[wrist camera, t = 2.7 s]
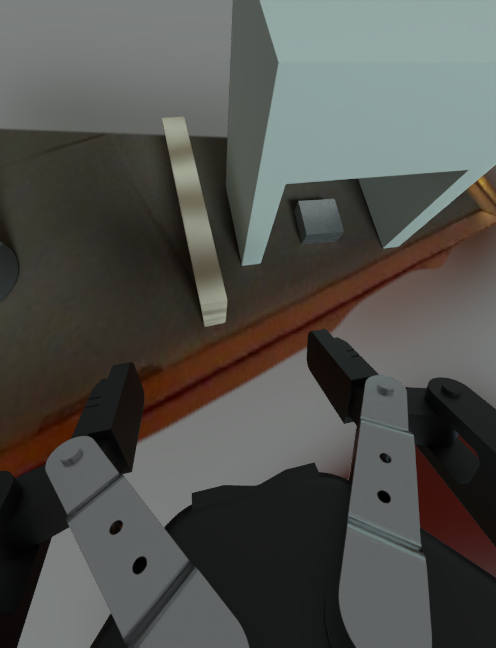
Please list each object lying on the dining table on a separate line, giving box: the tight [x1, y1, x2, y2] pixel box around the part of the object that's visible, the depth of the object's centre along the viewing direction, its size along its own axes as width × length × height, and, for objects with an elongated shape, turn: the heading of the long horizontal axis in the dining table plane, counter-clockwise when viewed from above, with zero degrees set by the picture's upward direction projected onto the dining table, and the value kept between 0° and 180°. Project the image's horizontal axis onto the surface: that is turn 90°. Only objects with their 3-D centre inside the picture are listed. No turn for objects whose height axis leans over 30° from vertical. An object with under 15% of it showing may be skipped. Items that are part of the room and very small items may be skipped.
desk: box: [226, 0, 496, 266], centre depth 27 cm, size 13×22×21 cm, turn 101°
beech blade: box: [162, 117, 227, 327], centre depth 30 cm, size 22×2×8 cm, turn 14°
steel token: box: [294, 199, 344, 244], centre depth 35 cm, size 5×5×2 cm
